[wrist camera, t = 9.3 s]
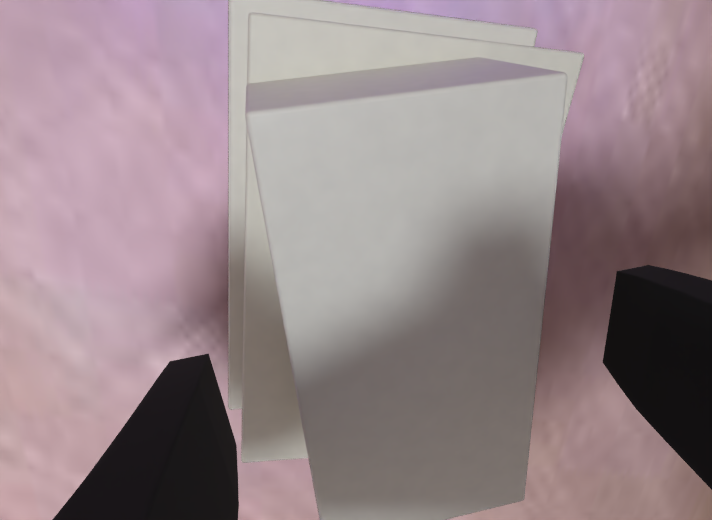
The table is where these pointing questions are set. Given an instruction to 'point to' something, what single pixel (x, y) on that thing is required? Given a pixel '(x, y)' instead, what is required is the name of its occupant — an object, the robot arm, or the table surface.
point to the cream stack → (245, 215)
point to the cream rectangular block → (412, 274)
